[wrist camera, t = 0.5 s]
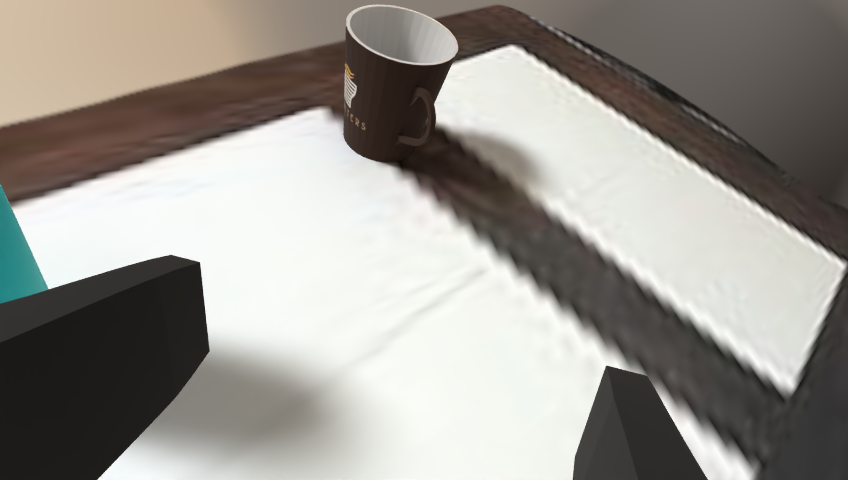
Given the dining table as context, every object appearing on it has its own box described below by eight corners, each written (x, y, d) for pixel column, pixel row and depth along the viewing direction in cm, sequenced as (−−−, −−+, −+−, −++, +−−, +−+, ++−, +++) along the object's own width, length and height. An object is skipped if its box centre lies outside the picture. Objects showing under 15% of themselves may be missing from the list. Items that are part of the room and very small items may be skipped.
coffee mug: (340, 99, 49) (355, -6, 42) (429, 122, 51) (459, 23, 43) (313, 180, 42) (327, 67, 34) (419, 204, 43) (455, 100, 35)
